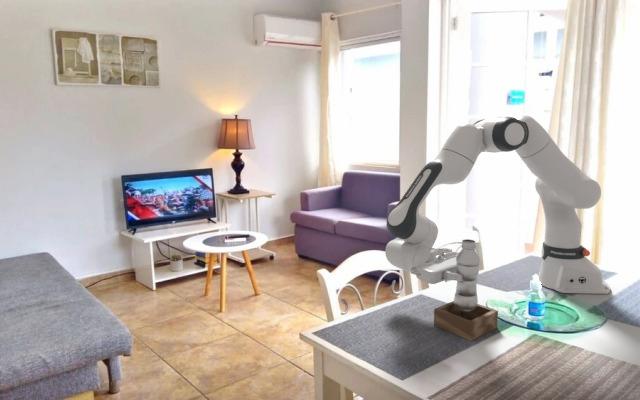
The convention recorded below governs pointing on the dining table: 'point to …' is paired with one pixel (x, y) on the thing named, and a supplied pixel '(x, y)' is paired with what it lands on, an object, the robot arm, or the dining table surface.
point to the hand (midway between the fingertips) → (469, 275)
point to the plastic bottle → (467, 277)
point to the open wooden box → (465, 320)
